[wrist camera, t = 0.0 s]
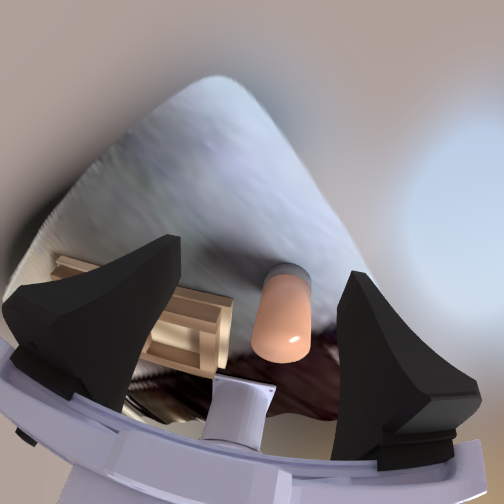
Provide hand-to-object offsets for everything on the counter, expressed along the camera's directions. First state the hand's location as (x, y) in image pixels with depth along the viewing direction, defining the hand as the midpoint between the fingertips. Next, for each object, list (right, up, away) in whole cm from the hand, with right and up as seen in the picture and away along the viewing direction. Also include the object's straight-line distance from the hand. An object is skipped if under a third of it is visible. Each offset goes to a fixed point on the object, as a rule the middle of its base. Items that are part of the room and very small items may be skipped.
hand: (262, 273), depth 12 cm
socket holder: (-13, -6, +18) cm, 23 cm away
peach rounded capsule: (+3, -2, +13) cm, 13 cm away
